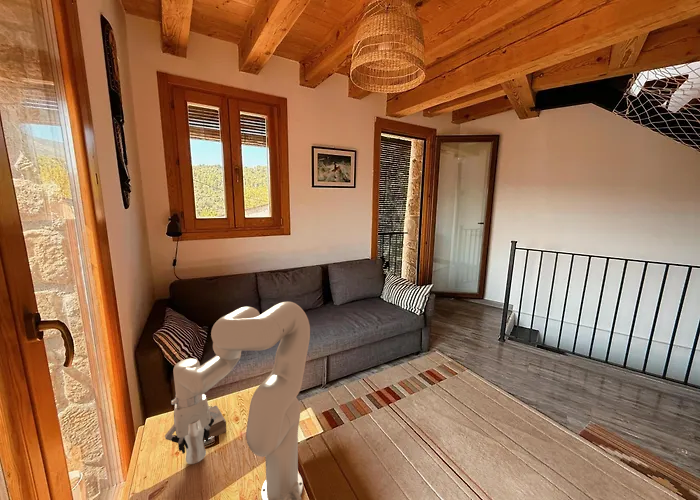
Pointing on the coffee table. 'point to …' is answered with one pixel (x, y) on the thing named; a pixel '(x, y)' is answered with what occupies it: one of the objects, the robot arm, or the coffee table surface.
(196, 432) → the beer glass
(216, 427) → the plinth
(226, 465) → the coffee table surface
